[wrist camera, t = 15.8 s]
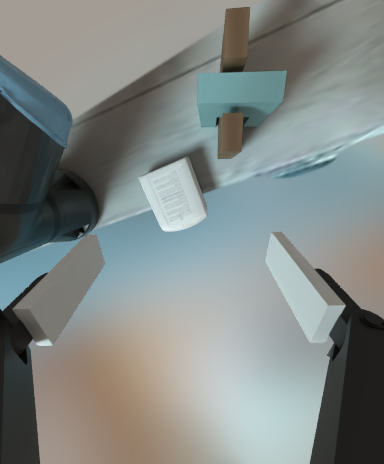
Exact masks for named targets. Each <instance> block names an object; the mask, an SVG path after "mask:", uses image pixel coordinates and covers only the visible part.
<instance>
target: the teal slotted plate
mask: <svg viewBox="0 0 384 464" xmlns="http://www.w3.org/2000/svg"><path fill="white" fill-rule="evenodd" d="M286 74H287V71H262V72H232V73H203V74H198V94H197V104H198V110H199V116H200V122H201V127H216V119H217V117H222V114H223V113H244V115H243V117H244V121H243V127H257V126H259V125H260V124H261V123H262V122H263V121H264V120H265V119H266V118H267V117H268V116H269V115H270V114H271V113H272V112H273V111H274V110H275V109H276V108H277V107H278V106H279V105H280V104H281V103H282V102H283V97H284V90H285V82H286Z"/></svg>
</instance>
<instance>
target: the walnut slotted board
mask: <svg viewBox="0 0 384 464" xmlns="http://www.w3.org/2000/svg"><path fill="white" fill-rule="evenodd" d="M249 18H250V7H244V8H232V9H226V15H225V24H224V34H223V44H222V54H221V64H220V73H232V72H242V71H243V68H244V65H245V62H246V59H247V50H248V34H249ZM243 115H244V113H223V114H222V117H219V124H218V159H231V158H232V157H234V156H235V155H237V154H238V153H240V152H241V148H242V132H243Z"/></svg>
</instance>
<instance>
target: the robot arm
mask: <svg viewBox="0 0 384 464" xmlns="http://www.w3.org/2000/svg"><path fill="white" fill-rule="evenodd" d="M71 126H72V115H71V113H70V111H69V109H68V108H67V106H66V105H65V104H64V103H63V102H62V101H61V100H59V99H58V98H57V97H56V96H54V95H53V94H52V93H50V92H49V91H48V90H47V89H45V88H44V87H43V86H41V85H40V84H39V83H37V82H36V81H35V80H33V79H32V78H31V77H29V76H28V75H26V74H25V73H24V72H22V71H21V70H20V69H18V68H17V67H16V66H14V65H13V64H11V63H10V62H9V61H7V60H6V59H4V58H3V57H2V56H1V55H0V263H3V262H5V261H7V260H10V259H12V258H14V257H17V256H19V255H21V254H23V253H26V252H28V251H30V250H33V249H35V248H37V247H40V246H42V245H44V244H46V243H52V242H68V241H73V240H76V239H79V238H81V237H83V236H85V235H86V236H85V237H84V238H83V239H82V240H81V241H80V242H79V243H78V244H77V245H76V246H75V247H74V248H73V249H72V250H71V251H70V252H69V253H68V254H67V255H66V256H65V257H64V258H63V259H62V260H61V261H60V262H59V263H58V264H57V265H56V266H55V267H54V268H53V269H52V270H51V271H50V272H49V273H45V274H43V275H41V276H40V277H38V278H37V279H36V280H34V281H33V282H32V283H31V284H30V285H29V287H27V288H26V289H25V290H24V291H23V293H21V294H20V295H19V296H18V297H17V298H16V299H15V300H14V301H13V302H12V303H11V304H10V305H9V306H7V308H5V309H4V310H3V311H2V310H1V309H0V464H40V458H39V445H38V433H37V421H36V410H35V398H34V387H33V374H32V363H31V351H30V348H29V346H28V345H29V343H30V342H31V341H32V339H34V341H35V342H36V344H37V345H38V346H46V345H47V346H48V345H49V346H50V345H53V344H54V343H55V341H56V340H57V338H58V337H59V335H60V334H61V332H62V330H63V329H64V327H65V326H66V324H67V323H68V321H69V319H70V318H71V316H72V315H73V313H74V312H75V310H76V309H77V307H78V305H79V304H80V302H81V301H82V299H83V298H84V296H85V295H86V293H87V291H88V290H89V288H90V287H91V285H92V283H93V282H94V280H95V279H96V277H97V276H98V274H99V272H100V271H101V270H102V268H103V266H104V265H105V261H104V258H103V255H102V252H101V248H100V245H99V241H98V238H97V235H87V234H88V233H89V232H91V231H92V229H93V228H94V226H95V225H96V222H97V219H98V204H97V200H96V198H95V195H94V193H93V191H92V190H91V188H90V187H89V186H88V184H87V183H86V182H85V181H84V180H83V179H81V178H80V177H79V176H77V175H76V174H74V173H72V172H69V171H66V170H61V169H57V167H58V165H59V162H60V159H61V157H62V154H63V151H64V149H65V148H67V143H66V142H67V139H68V136H69V132H70V129H71ZM265 262H266V264H267V266H268V267H269V269H270V271H271V273H272V275H273V277H274V279H275V280H276V282H277V284H278V286H279V287H280V289H281V291H282V293H283V295H284V297H285V298H286V300H287V302H288V304H289V306H290V308H291V309H292V311H293V313H294V315H295V316H296V318H297V320H298V322H299V324H300V326H301V327H302V329H303V331H304V333H305V335H306V336H307V338H308V340H309V342H310V343H325V342H326V340H327V338H328V337H329V335H330V337H331V338H332V340H333V341H334V344H333V346H332V348H331V349H330V351H329V353H328V354H327V356H329V357H330V360H329V365H328V371H327V376H326V381H325V387H324V392H323V397H322V402H321V408H320V413H319V418H318V423H317V429H316V434H315V439H314V444H313V449H312V455H311V460H310V464H384V320H383V319H382V318H381V317H379V316H378V315H376V314H374V313H372V312H370V311H367V310H364V309H361V308H360V307H359V306H358V305H357V304H356V303H355V302H354V301H353V300H352V299H351V298H350V297H349V295H348V294H346V292H345V291H344V290H343V289H342V288H340V286H339V285H338V284H337V283H336V282H335V281H334V280H333V278H331V276H330V275H329V274H327V273H325V272H324V271H323V270H321V269H314V268H313V267H312V266H311V265H310V264H309V263H308V261H307V260H306V259H305V258H304V257H303V256H302V255H301V254H300V252H299V251H298V250H297V249H296V248H295V247H294V246H293V244H292V243H291V242H290V241H289V240H288V239H287V237H286V236H285V235H284V234H283V233H282V232H271V237H270V242H269V246H268V251H267V255H266V260H265Z"/></svg>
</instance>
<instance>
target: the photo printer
mask: <svg viewBox="0 0 384 464" xmlns="http://www.w3.org/2000/svg"><path fill="white" fill-rule="evenodd" d="M139 181H140V183H141V185H142V187H143V189H144V192H145V194H146V196H147V198H148V201H149V203H150V205H151V207H152V209H153V211H154V214H155V216H156V218H157V220H158V223H159V224H160V226H161V228H162V230H163V231H178V230H183V229H186V228H189V227H191V226H193V225H195V224H197V223H199V222H200V221H202V220H203V219H204V218H206V217H207V206H206V202H205V200H204V197H203V194H202V192H201V189H200V186H199V183H198V181H197V178H196V175H195V173H194V170H193V167H192V164H191V162H190V159H189V157H184V158H182V159H180V160H177V161H175V162H173V163H170V164H168V165H166V166H163V167H161V168H159V169H157V170H154V171H152V172H150V173H147V174H145V175H142V176H140V177H139Z"/></svg>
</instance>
